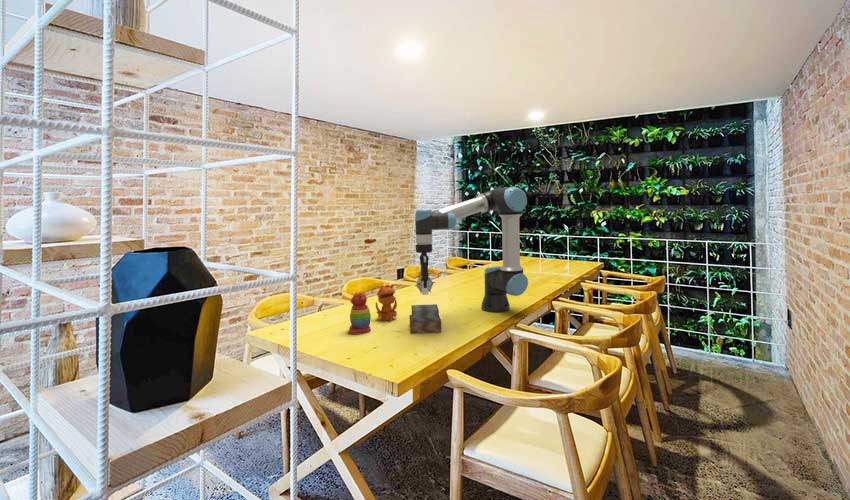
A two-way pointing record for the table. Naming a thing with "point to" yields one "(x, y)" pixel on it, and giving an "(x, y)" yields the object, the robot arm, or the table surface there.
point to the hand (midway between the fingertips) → (424, 292)
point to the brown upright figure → (386, 303)
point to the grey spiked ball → (419, 284)
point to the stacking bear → (359, 315)
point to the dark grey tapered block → (425, 319)
